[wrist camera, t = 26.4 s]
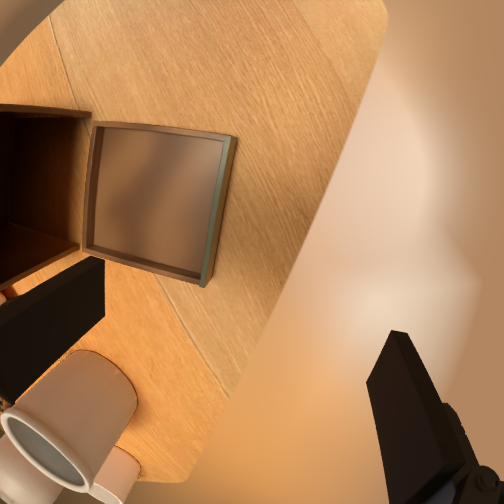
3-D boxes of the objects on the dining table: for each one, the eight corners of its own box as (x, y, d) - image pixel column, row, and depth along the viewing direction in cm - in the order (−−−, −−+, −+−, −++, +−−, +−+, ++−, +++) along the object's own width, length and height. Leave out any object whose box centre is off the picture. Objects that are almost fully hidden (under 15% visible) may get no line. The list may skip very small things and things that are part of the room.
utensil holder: (50, 346, 42) (-16, 406, 25) (114, 342, 39) (40, 424, 22) (90, 413, 45) (42, 478, 29) (156, 418, 42) (111, 503, 26)
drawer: (237, 137, 29) (231, 135, 26) (211, 278, 33) (204, 288, 31) (105, 121, 30) (91, 120, 27) (93, 246, 34) (80, 252, 32)
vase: (39, 398, 48) (-24, 469, 25) (96, 453, 50) (48, 530, 28) (21, 413, 53) (-30, 471, 30) (69, 460, 55) (28, 522, 32)
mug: (149, 468, 48) (131, 505, 38) (127, 474, 51) (110, 507, 41) (99, 429, 47) (75, 466, 37) (82, 440, 50) (60, 471, 40)
